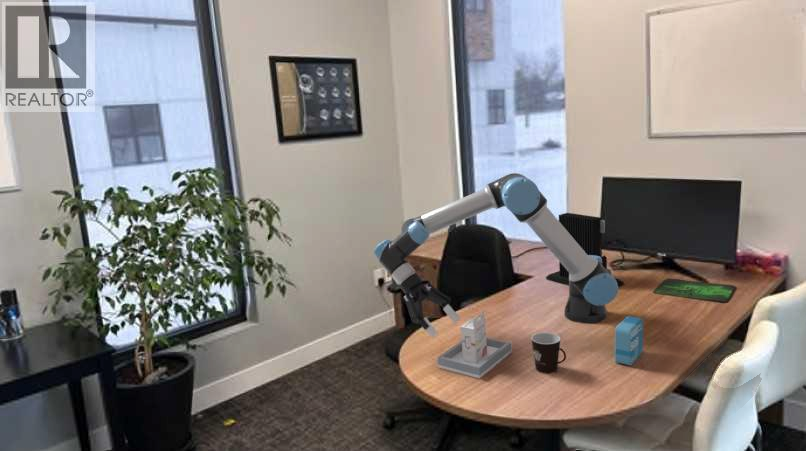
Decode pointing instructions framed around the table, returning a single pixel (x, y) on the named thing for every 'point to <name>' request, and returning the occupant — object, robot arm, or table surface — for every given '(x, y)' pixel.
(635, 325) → the data package
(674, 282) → the mouse mat
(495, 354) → the docking bay
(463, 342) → the ink cartridge box
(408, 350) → the table surface
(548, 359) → the coffee mug
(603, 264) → the ribbed black tower
